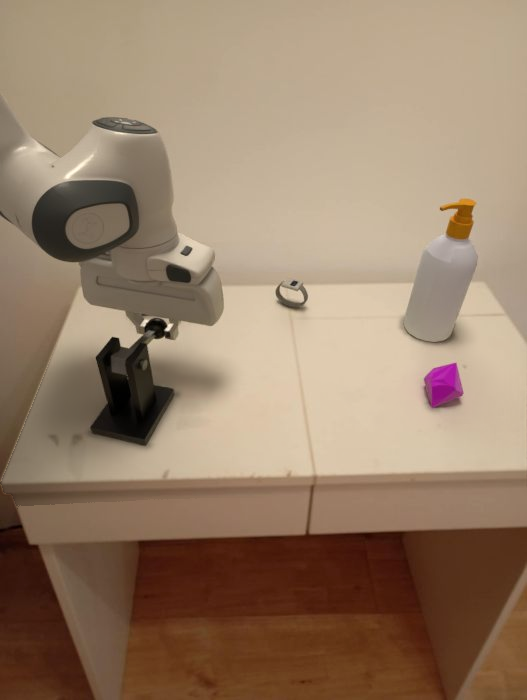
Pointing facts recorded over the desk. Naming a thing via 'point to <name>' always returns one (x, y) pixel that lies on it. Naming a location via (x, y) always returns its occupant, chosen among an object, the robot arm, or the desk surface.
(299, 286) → the wristwatch
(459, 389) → the crystal
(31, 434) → the desk surface
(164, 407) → the black lever stand
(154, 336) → the ball knob lever
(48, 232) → the robot arm
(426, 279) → the soap bottle
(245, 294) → the desk surface
